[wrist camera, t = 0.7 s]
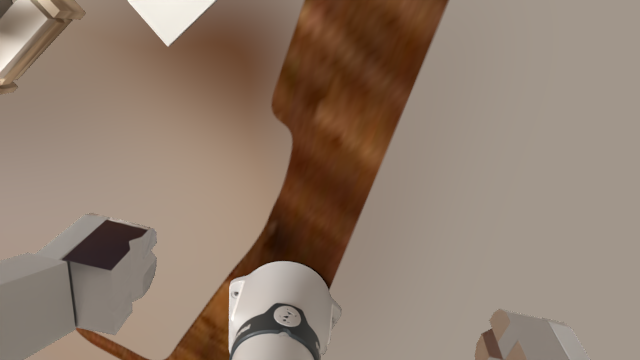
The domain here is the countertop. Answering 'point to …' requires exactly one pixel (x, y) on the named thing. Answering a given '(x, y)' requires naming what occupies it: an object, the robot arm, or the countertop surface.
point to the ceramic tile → (171, 15)
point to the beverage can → (4, 6)
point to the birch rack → (59, 6)
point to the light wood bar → (25, 37)
